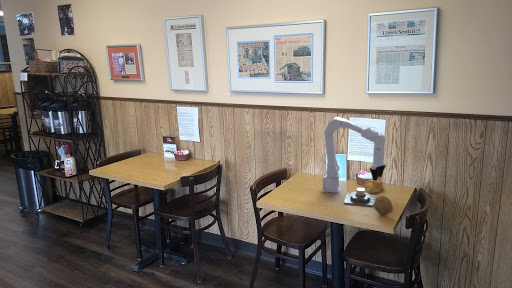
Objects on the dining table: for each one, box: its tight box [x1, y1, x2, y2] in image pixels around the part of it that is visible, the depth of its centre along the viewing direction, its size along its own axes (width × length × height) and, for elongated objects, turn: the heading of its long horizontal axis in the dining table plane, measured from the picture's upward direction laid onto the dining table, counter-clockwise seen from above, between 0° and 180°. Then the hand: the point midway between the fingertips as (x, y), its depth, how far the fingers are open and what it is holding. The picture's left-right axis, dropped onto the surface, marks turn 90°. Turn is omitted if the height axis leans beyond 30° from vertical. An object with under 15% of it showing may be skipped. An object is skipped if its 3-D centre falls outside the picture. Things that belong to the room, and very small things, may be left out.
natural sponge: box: [373, 195, 394, 216], centre depth 192 cm, size 9×9×10 cm
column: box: [356, 187, 366, 197], centre depth 212 cm, size 4×4×6 cm
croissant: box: [364, 178, 383, 195], centre depth 228 cm, size 21×10×8 cm, turn 145°
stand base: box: [343, 191, 377, 208], centre depth 212 cm, size 16×16×4 cm
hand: (377, 178), depth 218 cm, fingers open, 7 cm apart
